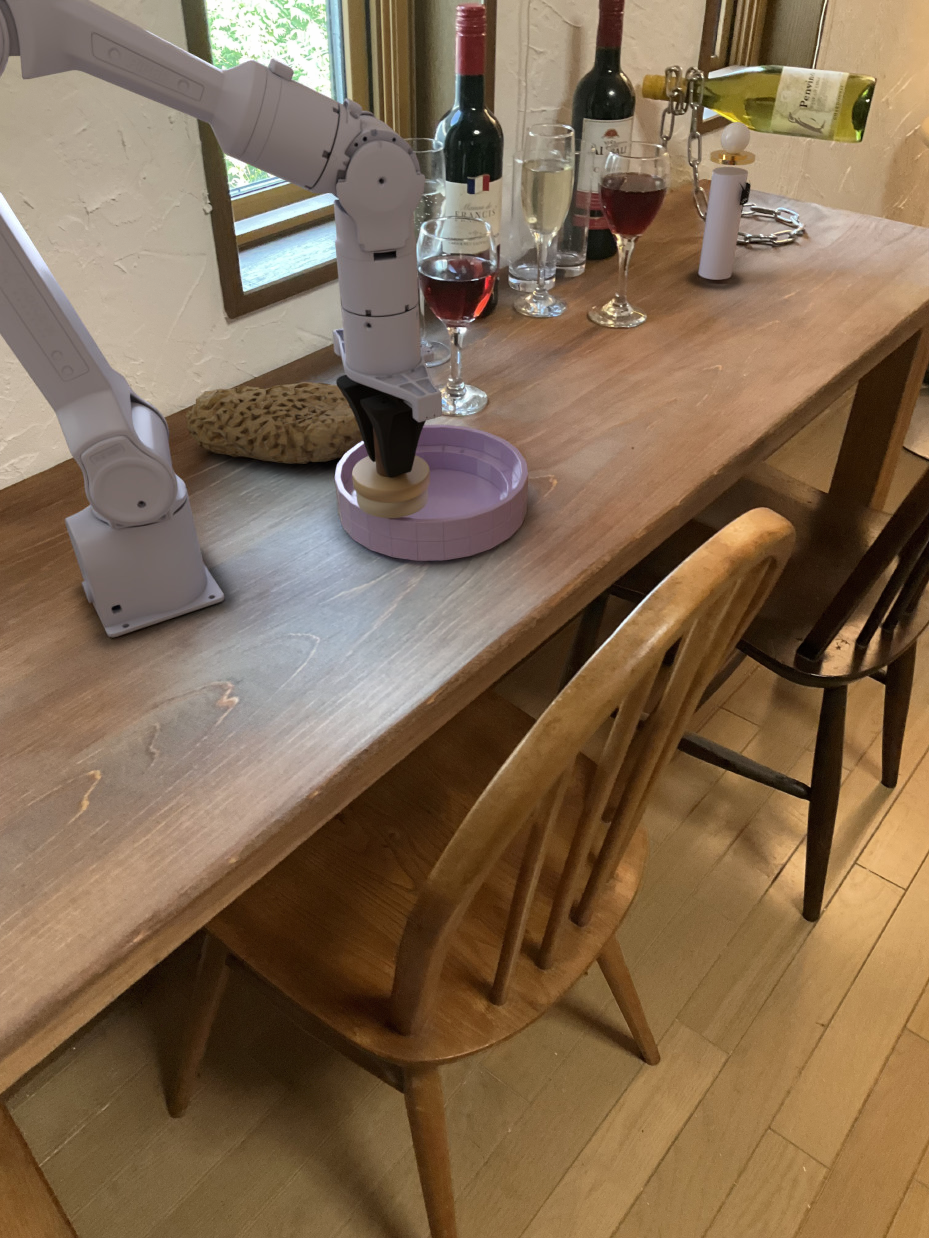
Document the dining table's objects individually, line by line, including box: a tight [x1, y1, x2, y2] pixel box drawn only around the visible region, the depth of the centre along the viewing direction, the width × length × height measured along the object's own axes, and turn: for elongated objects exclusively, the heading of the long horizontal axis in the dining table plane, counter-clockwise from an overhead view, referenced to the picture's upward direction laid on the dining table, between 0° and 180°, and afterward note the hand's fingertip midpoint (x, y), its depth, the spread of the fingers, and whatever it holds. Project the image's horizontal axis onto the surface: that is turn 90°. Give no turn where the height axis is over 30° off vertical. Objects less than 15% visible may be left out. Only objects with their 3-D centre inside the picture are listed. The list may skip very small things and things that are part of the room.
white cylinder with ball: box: [697, 121, 756, 281], centre depth 128 cm, size 6×6×20 cm
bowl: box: [333, 424, 529, 562], centre depth 87 cm, size 17×17×4 cm
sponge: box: [185, 381, 363, 465], centre depth 96 cm, size 13×8×20 cm
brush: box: [352, 428, 430, 518], centre depth 79 cm, size 6×6×7 cm
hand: (390, 465), depth 79 cm, fingers closed on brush, 2 cm apart
